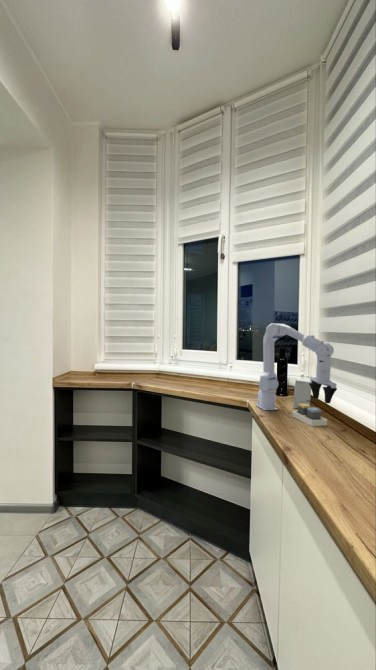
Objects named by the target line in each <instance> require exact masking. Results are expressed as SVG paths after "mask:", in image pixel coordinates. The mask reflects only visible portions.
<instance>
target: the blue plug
mask: <svg viewBox="0 0 376 670" xmlns="http://www.w3.org/2000/svg"><path fill="white" fill-rule="evenodd" d="M321 414H322V409H320V408H319V407H312V406H311V408H307V418H309V419H311V420H319V419H321V417H322V415H321Z"/></svg>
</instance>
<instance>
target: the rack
mask: <svg viewBox="0 0 376 670" xmlns="http://www.w3.org/2000/svg"><path fill="white" fill-rule="evenodd" d="M291 416H292V417H293V418H294V419H297V420H298V421H301V422H302V423H304V424H306V425H308V426H311V427H320V426H323V425H324V426H328V419H327V418H324V417H322V416H321V419H319V420H311V419H309V418H307V415H301V414H299V413H298V410H292V411H291ZM324 426H323V427H324Z"/></svg>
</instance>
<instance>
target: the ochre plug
mask: <svg viewBox="0 0 376 670" xmlns="http://www.w3.org/2000/svg"><path fill="white" fill-rule="evenodd" d="M307 408H312V405H311V404H310V405H308V404H306V403H304V404H298V409H297V411H298V413H299V414H301V415H307Z"/></svg>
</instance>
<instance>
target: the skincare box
mask: <svg viewBox="0 0 376 670" xmlns="http://www.w3.org/2000/svg"><path fill="white" fill-rule="evenodd" d="M309 383H311V382H310V379H301V378H295V383H294V391H293V392H294V393H293V401H292V402H293V404H292V409H297V410H298V404H304V403H306V404H308V405H310V406H311V396H312V390H311V387H310V385H309Z"/></svg>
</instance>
